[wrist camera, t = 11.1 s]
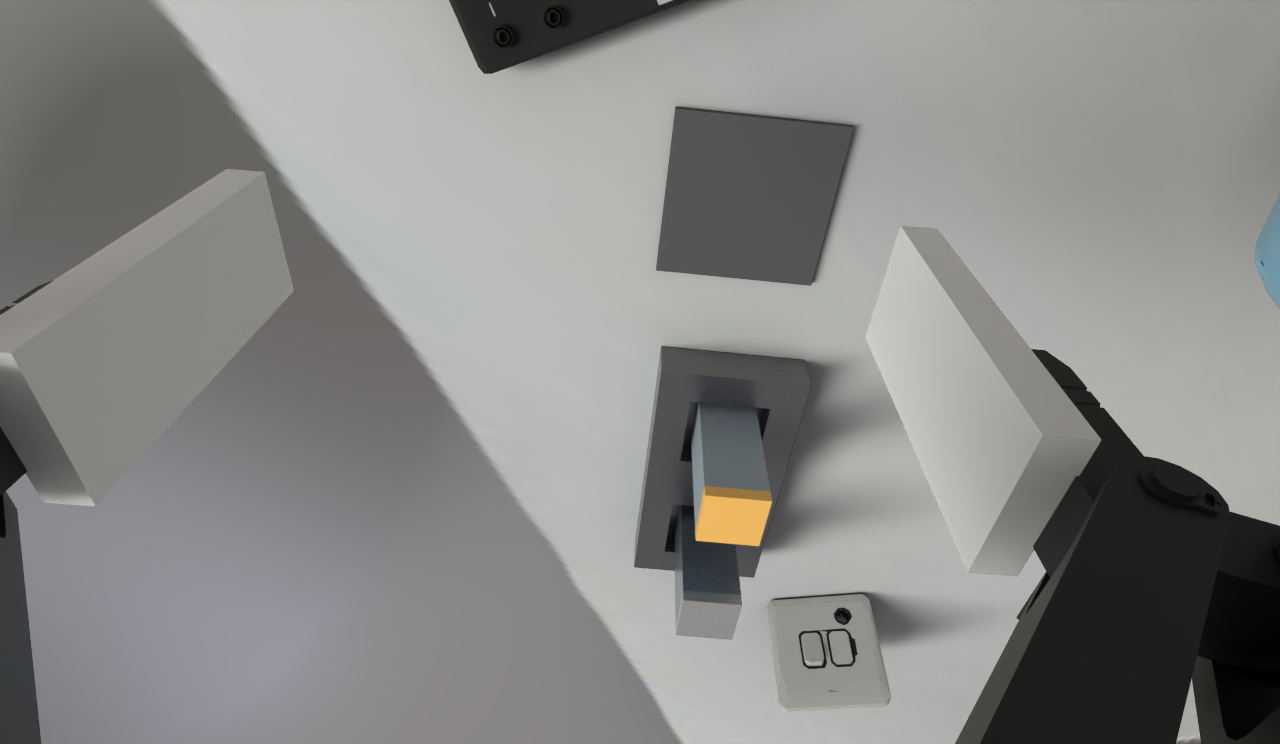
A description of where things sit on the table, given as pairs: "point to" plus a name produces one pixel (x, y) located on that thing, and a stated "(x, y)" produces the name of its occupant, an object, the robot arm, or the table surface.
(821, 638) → the electrical switch
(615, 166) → the table surface
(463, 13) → the multimeter
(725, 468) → the plug
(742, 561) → the grey block holder
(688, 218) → the mat
